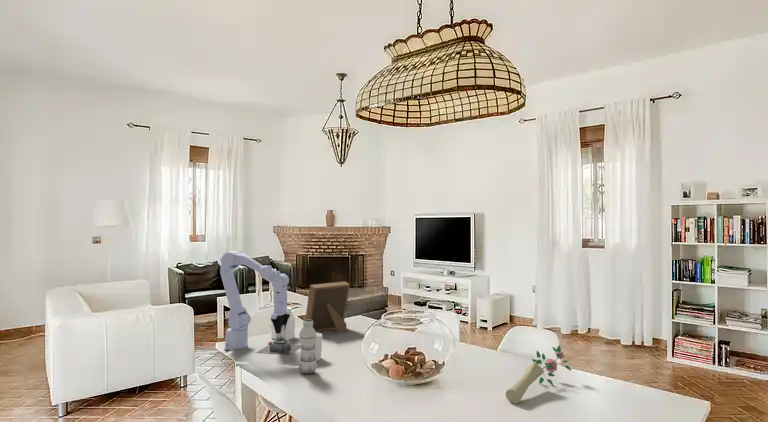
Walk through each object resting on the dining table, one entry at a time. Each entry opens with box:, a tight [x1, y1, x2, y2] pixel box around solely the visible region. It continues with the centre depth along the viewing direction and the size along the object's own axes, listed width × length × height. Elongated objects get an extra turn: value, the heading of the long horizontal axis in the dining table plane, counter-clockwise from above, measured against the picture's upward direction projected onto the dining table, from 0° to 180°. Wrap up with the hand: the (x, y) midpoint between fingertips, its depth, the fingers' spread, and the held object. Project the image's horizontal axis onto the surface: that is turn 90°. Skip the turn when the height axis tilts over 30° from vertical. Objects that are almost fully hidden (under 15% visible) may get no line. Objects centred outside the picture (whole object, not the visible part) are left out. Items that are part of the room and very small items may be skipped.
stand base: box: [255, 339, 301, 356], centre depth 215 cm, size 16×16×4 cm
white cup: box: [315, 332, 323, 361], centre depth 205 cm, size 8×8×10 cm
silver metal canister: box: [275, 324, 285, 344], centre depth 215 cm, size 4×4×8 cm
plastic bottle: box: [298, 319, 318, 375], centre depth 186 cm, size 6×7×20 cm
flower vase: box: [505, 345, 572, 404], centre depth 169 cm, size 12×12×35 cm
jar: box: [270, 306, 296, 341], centre depth 237 cm, size 12×10×15 cm
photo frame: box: [304, 281, 351, 334], centre depth 252 cm, size 15×22×25 cm
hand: (280, 332), depth 215 cm, fingers closed on silver metal canister, 4 cm apart
